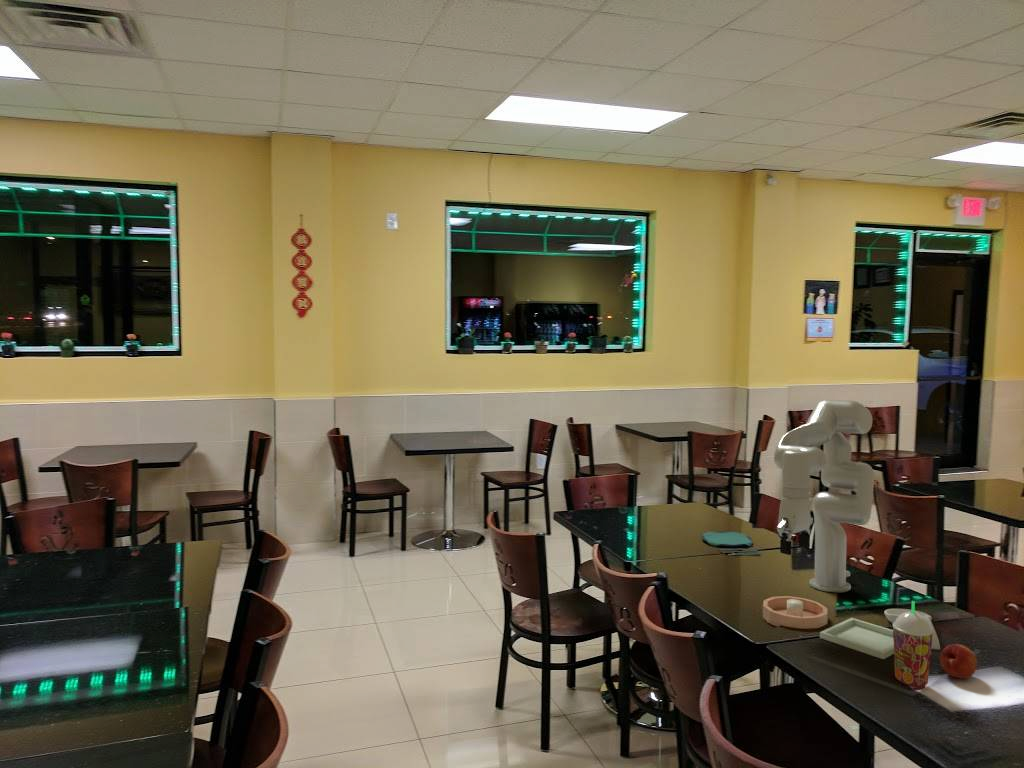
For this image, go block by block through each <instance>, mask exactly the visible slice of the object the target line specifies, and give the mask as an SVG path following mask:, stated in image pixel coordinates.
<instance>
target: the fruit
mask: <svg viewBox="0 0 1024 768" xmlns="http://www.w3.org/2000/svg"><path fill="white" fill-rule="evenodd" d="M939 660H940V665H941V666H940V667H941V668H942V670H943V671H944V672H945V673H946V674H948V675H950V676H951V677H954V678H957V679H963V680H964V679H967V678H970V677H972V676H973V675H974V674H975V672H976V670H977V666H978V660H977V658H976V655H975V654H974V652H973V650H972V649H970V648H969V647H967V646H965V645H963V644H959V643H953V644H949V645H947V646H945V647H944V648H943V649H942V650H941V651H940V652H939Z"/></svg>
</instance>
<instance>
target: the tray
mask: <svg viewBox="0 0 1024 768" xmlns="http://www.w3.org/2000/svg"><path fill="white" fill-rule="evenodd" d="M819 639H822V640H825V641H828V642H831V643H834V644H836V645H837V644H838V645H840V646H843V647H846V648H849V649H852V650H855V651H857V652H861V653H864V654H867V655H870V656H872V657H874V658H875V657H876V658H879V659H881V660H885V659H887V658H888V657H891V656H892V655H894V639H893V629H890V628H887V627H884V626H881V625H877V624H875V623H870V622H867V621H863V620H860V619H857V618H854V617H850V618H848V619H846V620H843V621H841V622H839V623H837V624H835V625H832V626H831V627H828V628H826V629H824V630H822V631H820V632H819Z"/></svg>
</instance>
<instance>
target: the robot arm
mask: <svg viewBox="0 0 1024 768" xmlns="http://www.w3.org/2000/svg"><path fill="white" fill-rule="evenodd" d="M872 426H873V415H872V413H871V411H870V409H869V408H867V407H866V406H864V405H863V404H862V403H860V402H857V401H855V400H843V399H842V400H839V399H825V400H824V399H823V400H820V401H819V402H817V403H816V404H815V406H814V407H813V410H812V412H811V413H810V415H809V417H808V419H807V421H806V422H805V424H802V425H800V426H798V427H796V428H793V429H792V430H790V431H788V432H786V433H785V434H783V436H782V437H781V439H780V441H779V442H778V443H777V446H776V448H775V450H774V454H773V459H774V460H773V461H774V464H775V467H777V468H778V469H780V470H781V471H782V472H781V478H782V479H781V498H780V501H779V502H780V503H779V509H778V510H779V512H778V525H777V526H776V530H777V535H778V538H779V541H780V542H779V543H780V544H779V545H780V546H779V548H780V549H779V550H780V554H783V555H787V556H791V555H792V542H793V541H792V540H791V539H792V536H793V535H794V534H798V547H800V548H803V549H807V550H808V549H810V548H811V545H810V544H811V534H812V531H811V530H812V528H813V522H814V577H812V578H810V579H809V580H808V581H809V585H810V586H811V587H812V588H814V589H817V590H819V591H823V592H829V593H846V592H849V591H851V589H852V585H851V584H850V582H848V581H847V578H848V577H850V576H851V572H850V571H849V570H847V534H846V531H845V530H844V528H843V526H842V523H843V524H847V525H856V526H864V525H867V524H868V523H869V522H870V519H871V517H872V516H871V514H872V508H873V507H872V505H873V499H874V498H873V497H874V486H875V476H874V475H875V474H874V470H873V468H872V466H871V465H870V464H868V463H866V462H860V461H859V462H857V461H852V460H851V459H852V451H853V450H852V449H853V447H852V445H851V443H850V442H849V440H848V439H847V437H846V436H845V435H844V434H858V435H862V434H863V435H865V434H867V433H869V432H870V431H871V429H872ZM843 433H844V434H843ZM822 445H823V450H822V449H821V448H818V447H819V446H822ZM817 446H818V447H817ZM819 472H821V473H820V481H821V483H822V485H823V486H824V487H826V488H829V489H834V490H843V491H853V492H855V494H850V493H844V492H843V493H842V492H834V491H819V492H818V493H816V494H815V495H814V496H813V499H812V511H813V517H812V516H811V504H810V503H811V502H810V499H811V497H810V494H811V492H810V491H811V474H816V473H819ZM840 523H841V524H840Z"/></svg>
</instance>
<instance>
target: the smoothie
mask: <svg viewBox="0 0 1024 768" xmlns="http://www.w3.org/2000/svg"><path fill="white" fill-rule="evenodd" d="M915 604H916V601H915V600H911V609H910V610H911V612H905V613H902V614H901V615H899V616H898V617H897V619H896V620H895V622H894V623H892V630H893V639H894V654H893V657H894V676H895V679H897V680H898V681H899V682H900V683H902V684H904V685H907V686H911V687H913V688H912V691H913V690H916V691H917V690H918V691H919V690H921V691H922V690H924V689H925V688H926V686H927V684H928V683H929V678H930V677H929V676H930V666H931V655H932V649H931V646H932V634H933V629H932V628H931V626H930V624H929V622H928V621H927V620H926V619H925V618H924V617H923V616H922V615H920V614H918V613H915V609H916V607H915V606H916V605H915Z"/></svg>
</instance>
